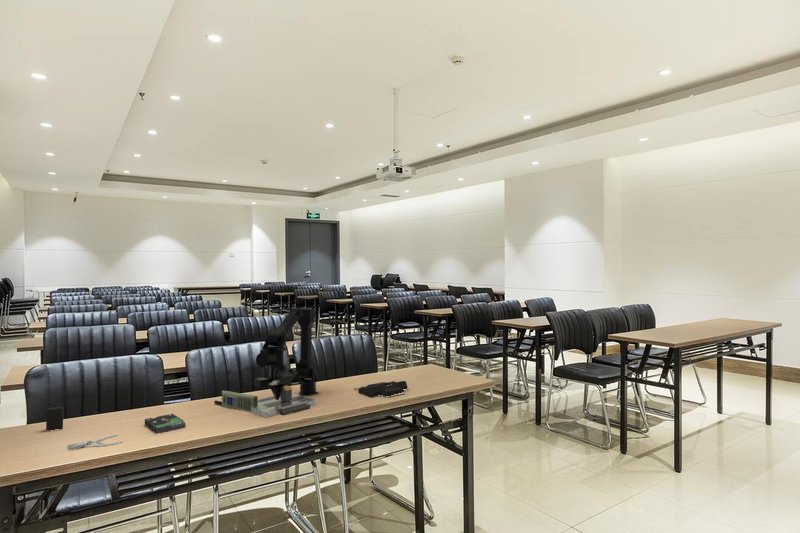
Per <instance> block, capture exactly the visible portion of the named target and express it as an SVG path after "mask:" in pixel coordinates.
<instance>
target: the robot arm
mask: <svg viewBox="0 0 800 533" xmlns="http://www.w3.org/2000/svg"><path fill="white" fill-rule="evenodd" d="M316 317H317V314H316V311H315V309H314V308H303V307H302V308H300V307H293V308H290V309H289V312H288V314H287V315H286V316H285V318H284V319H283V320H282V321H281V323H280V325H279V326H278V327H276V328H274V329H272V330H271V331H269V333H268V334H267V336H266V338H265V340H264V343H263V346H262V348H261V349H260V350H259V354H257V355H256V358H255V363H256V365H257V366H258V367H259V368H265V367H267V368H269V374H268V378H266V377H257V378H255V379H254V380H253V386H254V387H257V388H267V387H269V389H270V390H271V393H272V394H273V395H272V396H274V397H275V399H276V400H279V398H280V395H281V392H282V389H283V387H284V386H287V385H288V384H289V383H291V382H292V381H294V382H295V381H297V382H298V381H299V382H300V384H299V388H300V389H299V392H298V395H302V396H305V397H307V396H311V395H316V394H318V393H319V392H318V391H317V390H316V388H317V381H319V378H320V374H319V372H318V371H317V370H316V365H315V362H314V361H313V359H312V332H313V331H312V328H313V326H314V324H315V323H316ZM295 324H298V326H299V327H300V359H299V361H298V362H296V364H295V369H294V368H293V369H292V368H291V369H287V366H286V364H284V363H285V361H284V360H285V359H284V358H285V356H284V354H285V352H284V351H286V350H287V348H286V347H285V345H286V343H287V341H288V339H289V336H288V334H289V333H290V332H291V330H292V329H293V327H294V326H296V325H295Z"/></svg>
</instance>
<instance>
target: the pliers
mask: <svg viewBox="0 0 800 533" xmlns="http://www.w3.org/2000/svg"><path fill="white" fill-rule="evenodd" d="M115 437H119V434H114V435H108V436H104V437H100V438H97V439H93V440H85V441H82V442H74V443H69V444H67V449H68V450H72V451H75V450H74V449H76V450H79V449H78V448H80V449H81V447H82V448H84V447H86V448H90V447H89V446H93V447H92V448H95V447H96V448H101V446H102V447H109V445H110V446H115V445H119V443H120V444H123V443H124V441H123V440H122V441H116V442H107V443H106V442H103V441H105V440H107V438H108V439H111V438H115ZM95 442H96V443H95ZM92 443H94V444H92ZM87 444H90V445H87ZM68 450H67V451H68Z"/></svg>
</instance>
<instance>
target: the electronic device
mask: <svg viewBox="0 0 800 533" xmlns="http://www.w3.org/2000/svg"><path fill="white" fill-rule="evenodd" d="M407 388H408V383H407V381H406V380H401V381H395V380H393V381H386V382H384V381H383V382H377V383H376V382H375V383H371V384H367V385H366V386H361V387H359V388H358V387H357V388H355V390H358V391H357V392H358V393H359V394H361V395H363V394H364V396H366V395H367V396H366V397H369V396H371V397H370V398H372V397H373V398H375V397H374V396H378V395H383V396H382V397H384V396H391V395H394V394H398V393H402V392H404V393H405V391H404V390H403V389H407ZM378 397H379V396H378Z"/></svg>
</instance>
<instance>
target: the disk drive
mask: <svg viewBox="0 0 800 533" xmlns="http://www.w3.org/2000/svg"><path fill="white" fill-rule="evenodd" d="M144 426H146V427H147V428H148V427H149V428H150V429H149V430H151V431H152V432H153V431H154V432H155V434H156V435H158V433H159V434H164V433H168V432H172V431H176V430H181V429H185V428H186V423H185V421H184V419H181V417H180V416H177V415H176V414H174V413H170V414H169V413H168V414H164V415H159V416H156V417H148V418H145V419H144ZM154 432H153V433H154Z"/></svg>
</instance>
